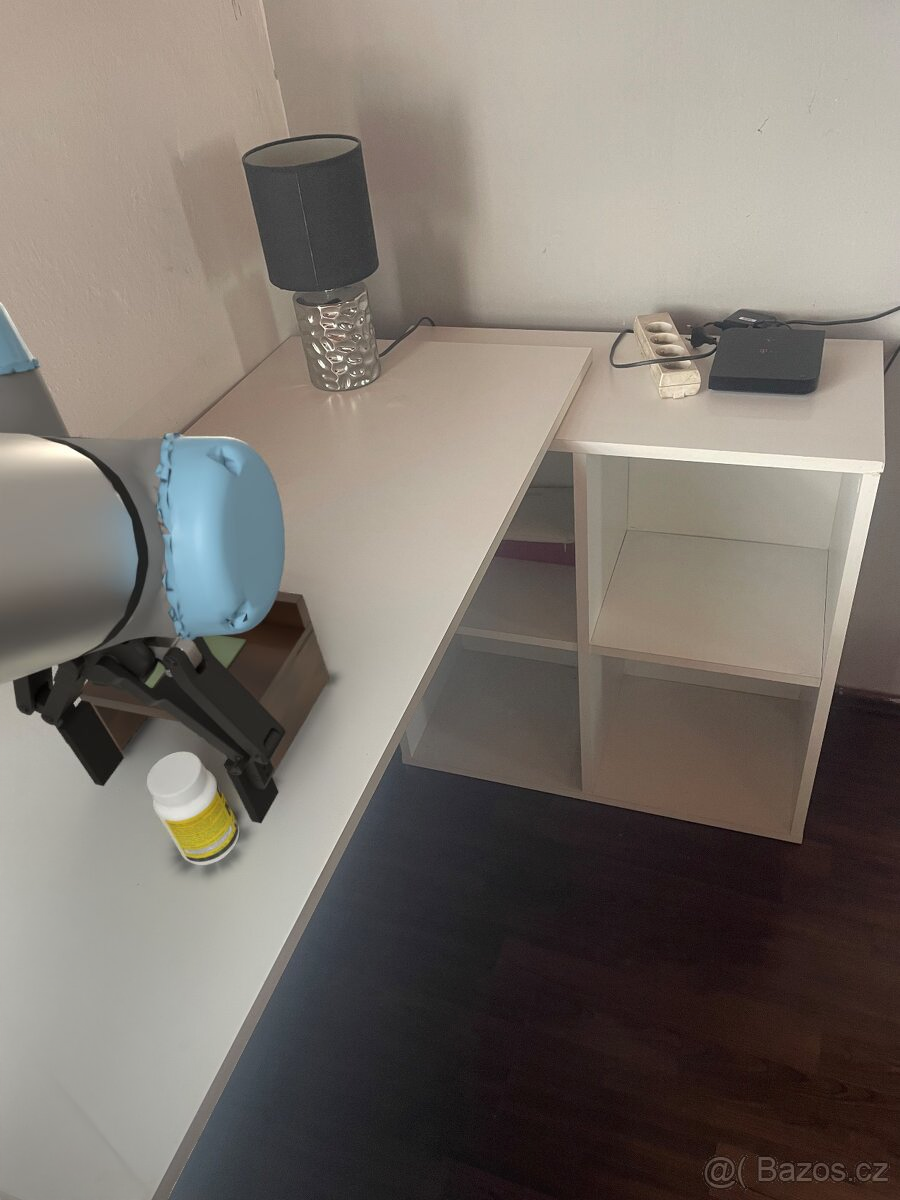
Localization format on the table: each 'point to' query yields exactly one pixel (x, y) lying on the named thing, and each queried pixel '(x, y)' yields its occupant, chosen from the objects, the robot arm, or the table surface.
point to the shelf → (242, 674)
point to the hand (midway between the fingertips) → (185, 788)
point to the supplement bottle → (192, 808)
